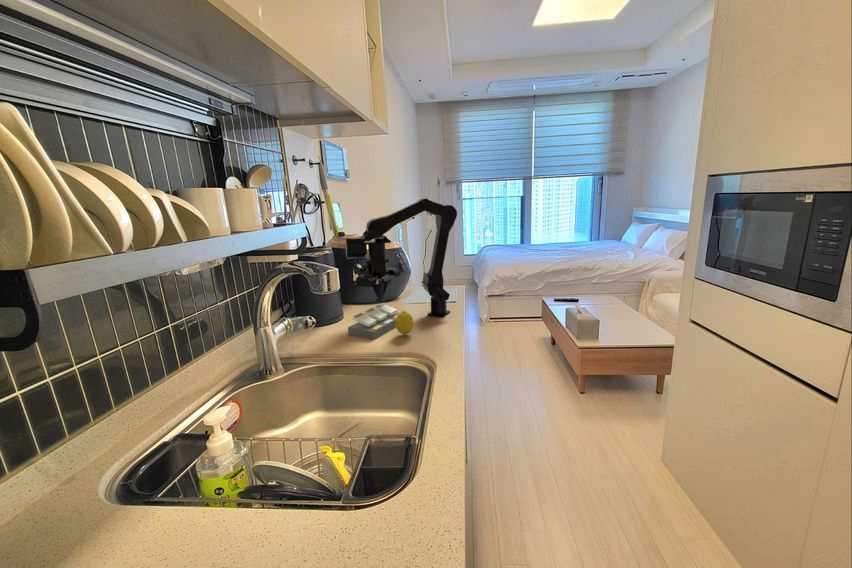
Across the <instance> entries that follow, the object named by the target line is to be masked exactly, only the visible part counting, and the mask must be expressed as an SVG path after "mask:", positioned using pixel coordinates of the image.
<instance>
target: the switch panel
mask: <svg viewBox="0 0 852 568" xmlns="http://www.w3.org/2000/svg"><path fill="white" fill-rule="evenodd" d="M382 313H383V312H382ZM400 313H401V312H396V313H394V314H392V315H388V314H387V317H386V318H385V319H383V320H381V321H379V320H377V319H375V320H376V323H375V324H373V325H371V326H369V327H368V326H366V325H364V324H361V323H359V322H356V323H353V324H352V325H350V326H348V327H347V331H348V333H347V334H348V336H354V337H358V338H362V339H369V340H375V339H378V338H379V337H381V336H383V335H384V334H386V333H387V332H389V331H392V330H394V329H395V328H396V318H397V316H398V314H400ZM385 314H386V313H385ZM371 318H372V317H371ZM373 319H374V318H373Z"/></svg>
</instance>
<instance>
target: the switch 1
mask: <svg viewBox="0 0 852 568" xmlns="http://www.w3.org/2000/svg"><path fill="white" fill-rule="evenodd" d="M352 321H355V322H356V323H358V322H359V323H361V324H364V325H366V326H368V327H369V326H371V325H373V324H375V323H376V320H375V319H373V318H371V317H370V316H368V315H365V314H364V312H363V313H362V312H360V313H358V314H355V315H353V316H352Z"/></svg>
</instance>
